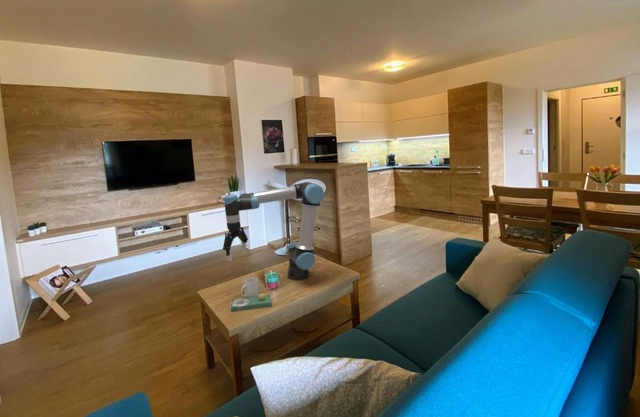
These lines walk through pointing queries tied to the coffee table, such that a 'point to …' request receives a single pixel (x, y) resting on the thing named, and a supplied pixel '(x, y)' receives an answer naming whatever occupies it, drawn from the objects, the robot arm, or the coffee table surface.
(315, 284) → the coffee table surface
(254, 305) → the putting strip
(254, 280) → the mug
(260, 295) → the ball
